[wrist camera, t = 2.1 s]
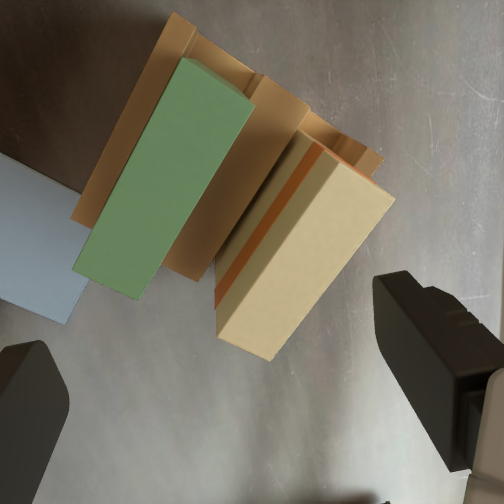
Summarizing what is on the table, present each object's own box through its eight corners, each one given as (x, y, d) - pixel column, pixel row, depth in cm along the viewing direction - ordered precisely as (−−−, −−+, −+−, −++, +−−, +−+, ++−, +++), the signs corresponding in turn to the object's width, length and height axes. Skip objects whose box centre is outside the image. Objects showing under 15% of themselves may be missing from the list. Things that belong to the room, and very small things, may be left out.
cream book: (213, 237, 35) (214, 337, 22) (288, 120, 32) (338, 159, 19) (249, 257, 36) (270, 363, 23) (325, 145, 33) (397, 199, 20)
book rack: (96, 189, 34) (69, 218, 27) (181, 21, 29) (172, 10, 23) (258, 274, 38) (267, 317, 32) (352, 140, 34) (385, 159, 27)
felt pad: (-75, 263, 35) (-78, 265, 35) (-27, 137, 31) (-30, 138, 31) (65, 322, 38) (63, 325, 38) (123, 215, 35) (122, 217, 34)
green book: (125, 189, 33) (70, 270, 20) (195, 58, 29) (182, 56, 17) (166, 211, 34) (138, 301, 21) (237, 87, 30) (255, 105, 18)
